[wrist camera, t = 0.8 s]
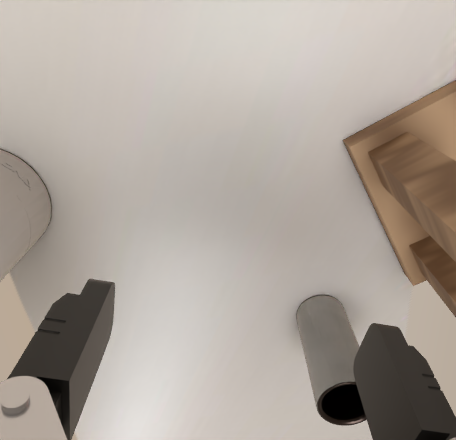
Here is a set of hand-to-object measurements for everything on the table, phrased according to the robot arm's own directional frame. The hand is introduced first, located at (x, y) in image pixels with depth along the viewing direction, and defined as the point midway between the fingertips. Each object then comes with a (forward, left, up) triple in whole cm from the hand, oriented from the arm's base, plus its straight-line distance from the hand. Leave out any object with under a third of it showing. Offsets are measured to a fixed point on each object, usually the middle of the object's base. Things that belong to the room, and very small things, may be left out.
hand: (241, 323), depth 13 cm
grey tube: (-7, -17, -21) cm, 28 cm away
